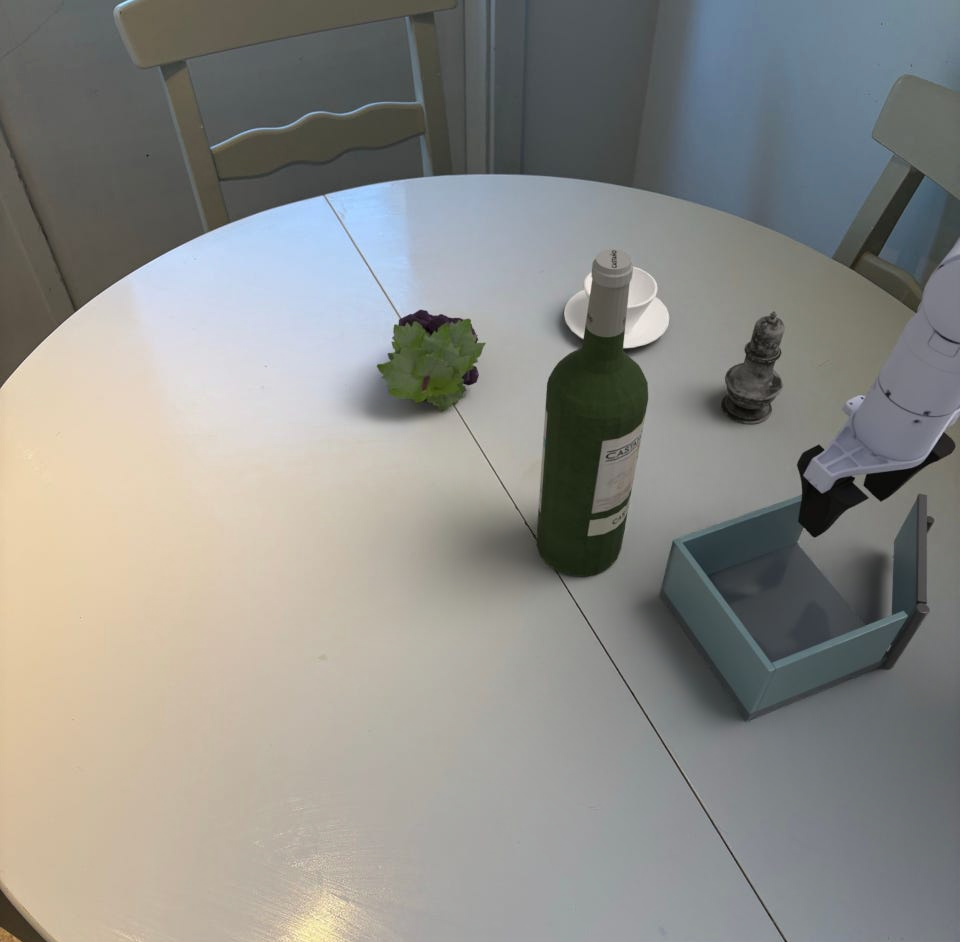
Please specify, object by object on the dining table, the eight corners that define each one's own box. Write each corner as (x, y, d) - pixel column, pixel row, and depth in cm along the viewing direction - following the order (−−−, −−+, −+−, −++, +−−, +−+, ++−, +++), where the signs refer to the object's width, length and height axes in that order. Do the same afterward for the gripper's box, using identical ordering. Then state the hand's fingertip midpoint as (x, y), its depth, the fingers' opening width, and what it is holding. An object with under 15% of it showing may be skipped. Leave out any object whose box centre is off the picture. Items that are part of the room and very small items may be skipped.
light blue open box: (896, 666, 77) (932, 610, 71) (749, 727, 74) (774, 674, 67) (794, 545, 85) (819, 485, 79) (658, 594, 82) (673, 536, 76)
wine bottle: (614, 585, 83) (665, 301, 59) (528, 569, 84) (545, 284, 60) (626, 521, 87) (678, 234, 64) (544, 507, 88) (566, 220, 65)
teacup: (666, 297, 109) (673, 257, 105) (668, 361, 102) (676, 321, 98) (565, 291, 110) (569, 251, 106) (560, 354, 103) (563, 314, 99)
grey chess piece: (708, 395, 98) (732, 299, 89) (758, 384, 99) (786, 288, 90) (734, 431, 95) (761, 335, 86) (784, 419, 96) (817, 323, 87)
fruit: (472, 374, 105) (473, 438, 93) (380, 361, 104) (369, 423, 92) (487, 288, 99) (490, 344, 87) (390, 272, 98) (379, 326, 86)
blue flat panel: (912, 650, 76) (942, 606, 71) (889, 645, 77) (917, 600, 72) (914, 544, 83) (941, 497, 78) (893, 540, 84) (918, 493, 79)
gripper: (944, 322, 69) (868, 446, 80) (805, 386, 63) (744, 509, 74) (1019, 380, 65) (929, 501, 76) (879, 453, 60) (804, 572, 71)
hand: (842, 509), depth 75 cm, fingers open, 7 cm apart
